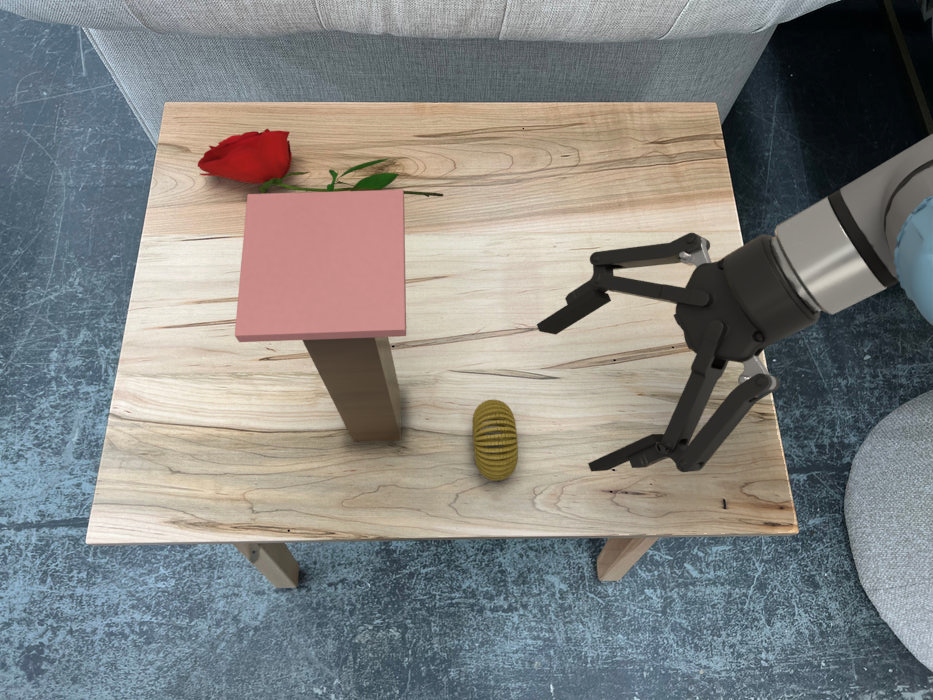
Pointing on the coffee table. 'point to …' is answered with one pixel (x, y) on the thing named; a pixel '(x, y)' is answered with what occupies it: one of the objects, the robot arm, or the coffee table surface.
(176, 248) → the coffee table surface
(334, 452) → the coffee table surface
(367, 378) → the stand post
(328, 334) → the rose shelf
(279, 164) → the flower
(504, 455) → the sculpture
